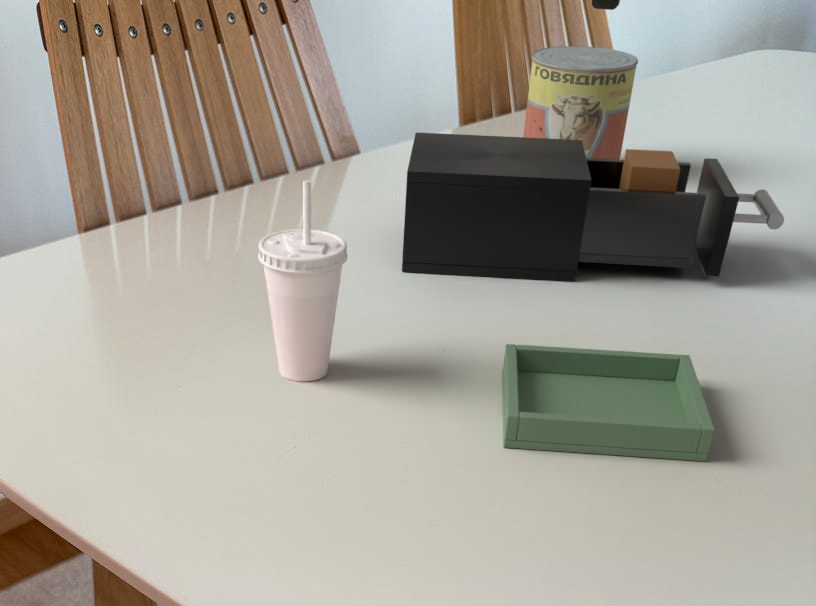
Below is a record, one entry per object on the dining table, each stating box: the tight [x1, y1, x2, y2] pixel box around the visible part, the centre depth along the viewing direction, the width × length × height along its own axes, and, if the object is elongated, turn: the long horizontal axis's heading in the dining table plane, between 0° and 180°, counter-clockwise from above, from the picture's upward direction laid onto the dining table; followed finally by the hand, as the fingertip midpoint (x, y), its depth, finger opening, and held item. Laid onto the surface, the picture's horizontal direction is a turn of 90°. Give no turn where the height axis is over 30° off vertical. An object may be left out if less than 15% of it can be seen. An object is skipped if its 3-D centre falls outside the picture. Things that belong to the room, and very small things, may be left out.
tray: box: [502, 343, 715, 462], centre depth 74 cm, size 14×12×2 cm
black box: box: [401, 132, 591, 282], centre depth 97 cm, size 16×13×9 cm
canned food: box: [523, 45, 639, 160], centre depth 116 cm, size 11×11×12 cm
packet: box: [619, 148, 680, 192], centre depth 96 cm, size 4×6×7 cm
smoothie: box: [257, 179, 348, 382], centre depth 76 cm, size 6×6×14 cm
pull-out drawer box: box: [578, 157, 785, 278], centre depth 96 cm, size 20×12×7 cm, turn 83°
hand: (613, 0), depth 90 cm, fingers open, 8 cm apart
